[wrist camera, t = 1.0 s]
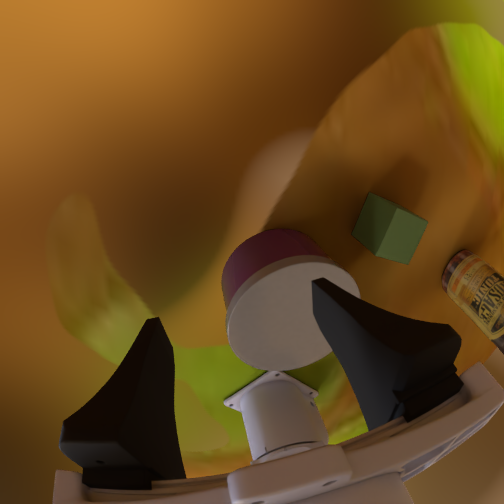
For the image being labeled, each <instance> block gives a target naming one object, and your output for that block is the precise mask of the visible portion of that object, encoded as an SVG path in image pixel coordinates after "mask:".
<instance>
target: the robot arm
mask: <svg viewBox="0 0 504 504" xmlns="http://www.w3.org/2000/svg"><path fill="white" fill-rule="evenodd" d="M311 283H312V304H313V315H314V317H315V320H316V322H317V324H318V327H319V329H320V331H321V332H322V334H323V336H324V337H325V339H326V341H327V342H328V344H329V346H330V347H331V349H332V350H333V352H334V354H335V355H336V357H337V358H338V360H339V362H340V363H341V365H342V367H343V369H344V370H345V373H346V375H347V377H348V379H349V381H350V383H351V386H352V388H353V390H354V393H355V395H356V397H357V400H358V402H359V405H360V408H361V410H362V413H363V415H364V418H365V421H366V424H367V427H368V430H369V432H366V433H364V434H361V435H359V436H357V437H354V438H352V439H349V440H347V441H344V442H341V443H339V444H336V445H328V440H329V438H328V432H327V429H326V427H325V425H324V422H323V420H322V418H321V416H320V413H319V411H318V409H317V406H316V404H315V402H314V398H315V397H317V396H318V394H319V393H318V391H316V390H314V389H312V388H310V387H309V386H307V385H305V384H303V383H302V382H300V381H298V380H296V379H295V378H293V377H291V376H289V375H288V374H286V373H284V372H283V371H268V372H267V373H265V374H264V375H262V376H261V377H259V378H258V379H256V380H255V381H253V382H252V383H250V384H249V385H247V386H246V387H244V388H243V389H241V390H240V391H238V392H237V393H235V394H234V395H232V396H231V397H229V398H228V399H226V400H225V401H224V405H226V406H228V407H230V408H233V409H235V410H238V411H240V412H242V415H243V420H244V424H245V428H246V433H247V437H248V441H249V445H250V449H251V454H252V458H253V461H251V462H250V463H251V465H250V466H246V467H243V468H239V469H237V470H235V471H233V472H231V473H227V474H220V475H214V476H206V477H198V478H189V479H187V478H186V474H185V470H184V466H183V462H182V457H181V452H180V447H179V442H178V436H177V429H176V422H175V414H174V382H175V364H174V354H173V347H172V345H171V343H170V341H169V338H168V336H167V334H166V332H165V330H164V327H163V325H162V323H161V321H160V318H159V317H156V318H151V319H147V320H146V322H145V323H144V325H143V327H142V328H141V330H140V332H139V334H138V336H137V337H136V339H135V341H134V343H133V345H132V346H131V348H130V350H129V351H128V353H127V355H126V356H125V358H124V359H123V361H122V362H121V364H120V366H119V367H118V369H117V370H116V371H115V372H114V374H113V375H112V376H111V378H110V379H109V380H108V382H107V383H106V384H105V385H104V386H103V387H102V388H101V389H100V390H99V392H97V393H96V395H95V396H94V397H93V398H91V399H90V400H89V401H88V402H87V403H86V404H85V405H84V406H83V407H81V408H80V409H79V410H78V411H77V412H75V413H74V414H72V415H71V416H70V417H68V418H67V419H66V420H64V421H63V426H62V430H61V436H60V441H59V448H60V450H61V451H62V452H63V453H64V454H65V455H66V456H67V457H68V458H70V459H71V460H72V461H74V462H75V463H77V464H78V465H79V466H81V467H82V468H83V474H81V473H78V472H74V471H66V470H56V476H55V484H54V495H53V496H54V497H53V504H414V502H413V500H412V498H411V496H410V494H409V493H408V491H407V489H406V487H405V485H404V483H403V482H405V481H407V480H408V479H410V478H412V477H413V476H415V475H417V474H418V473H420V472H421V471H423V470H425V469H426V468H428V467H429V466H431V465H432V464H434V463H435V462H437V461H438V460H440V459H441V458H442V457H444V456H445V455H447V454H448V453H449V452H451V451H452V450H454V449H455V448H456V447H458V446H459V445H460V444H461V443H463V442H464V441H466V440H467V439H468V438H469V437H471V436H472V435H473V434H474V433H476V432H477V431H478V430H479V429H481V428H482V427H483V426H484V425H485V424H486V423H487V422H488V421H489V420H490V419H491V418H492V416H493V415H494V414H495V413H496V412H497V410H498V409H499V408H500V407H501V405H502V404H503V403H504V390H503V388H502V387H501V386H500V385H499V384H498V382H497V381H496V380H495V379H494V378H493V376H492V375H491V374H490V373H489V372H488V370H487V369H486V368H485V367H484V366H483V365H482V364H481V362H477V363H476V364H474V365H473V366H471V367H470V368H469V369H467V370H466V371H464V372H463V373H462V374H461V375H460V376H459V377H458V376H457V374H456V373H455V372H456V371H457V368H456V367H455V365H454V364H453V363H454V361H455V359H456V356H457V354H458V352H459V350H460V347H461V340H462V339H461V337H460V336H459V335H458V334H457V332H456V331H455V330H454V329H453V328H452V327H451V326H450V325H449V324H440V323H431V322H425V321H420V320H415V319H411V318H407V317H404V316H400V315H397V314H394V313H391V312H388V311H386V310H383V309H381V308H378V307H376V306H374V305H371V304H369V303H367V302H365V301H363V300H361V299H360V298H358V297H356V296H354V295H352V294H351V293H349V292H347V291H345V290H344V289H342V288H340V287H339V286H337V285H336V284H334V283H332V282H331V281H329V280H327V279H326V278H324V277H322V278H319V279H315V280H311Z"/></svg>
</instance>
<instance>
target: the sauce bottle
mask: <svg viewBox="0 0 504 504" xmlns="http://www.w3.org/2000/svg"><path fill="white" fill-rule="evenodd" d="M442 287H443V289H444V291H445V292H446V293H447V294H448V296H449V297H450V298H451V299H452V300H453V301H454V302H455V303H456V304H457V305H458V306H459V307H460V308H461V309H462V310H463V311H464V312H465V313H466V314H467V315H468V316H469V317H470V318H471V319H472V321H473V322H474V323H475V324H476V325H477V326H478V327H479V328H480V329H481V330H482V331H483V332H484V334H485V335H486V336H487V337H488V338H489V339H490V340H491V341H492V342H493V343H494V344H495V345H496V346H497V347H498V348H499V350H500V351H501V352H502V353H503V354H504V277H503V276H502V275H501V274H500V273H499V272H497V271H496V270H495V269H494V268H493V267H491V266H490V265H489V264H488V263H486V262H485V261H484V260H483V259H481V258H480V257H479V256H477V255H475V254H473V253H472V252H470V251H468V250H463V251H461V252H459V253H457V254H456V255H455V256H454V257H453V258H452V259H451V260H450V262H449V264H448V265H447V267H446V269H445V271H444V273H443V275H442Z"/></svg>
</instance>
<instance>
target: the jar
mask: <svg viewBox="0 0 504 504" xmlns="http://www.w3.org/2000/svg"><path fill="white" fill-rule="evenodd" d="M322 277H324V278H326V279H327V280H329V281H331V282H332V283H334V284H336V285H337V286H339V287H340V288H342V289H344V290H345V291H347V292H349V293H351V294H352V295H354V296H356V297H358V298H360V292H359V288H358V286H357V283H356V282H355V280H354V279H353V277H352V276H351V275H350V274H349V273H348V272H347V271H346V270H345V269H344V268H343V267H342V266H341V265H340V264H338V263H337V262H335V261H333V260H331V259H330V258H329V257H328V256H327V255H326V253H325V252H324V251H323V250H322V249H321V248H320V247H319V246H318V244H317V243H316V242H315V241H314V240H313V239H311V238H310V237H309V236H307V235H305V234H303V233H301V232H298V231H295V230H290V229H273V230H268V231H264V232H261V233H258V234H256V235H254V236H252V237H251V238H249V239H247V240H246V241H245V242H243V243H242V244H241V245H239V246H238V248H236V250H235V251H234V252H233V253H232V255H231V256H230V257H229V259H228V261H227V262H226V265H225V267H224V270H223V274H222V291H223V296H224V301H225V305H226V310H227V314H226V332H227V337H228V341H229V344H230V346H231V348H232V350H233V352H234V353H235V354H236V356H238V357H239V358H240V359H241V360H242V361H243V362H245V363H246V364H248V365H250V366H252V367H255V368H258V369H262V370H268V371H286V370H292V369H297V368H300V367H304V366H307V365H309V364H312V363H314V362H316V361H318V360H320V359H321V358H323V357H325V356H326V355H328V354H329V353H331V352H332V351H333V350H332V349H331V347H330V346H329V344H328V342H327V341H326V339H325V337H324V336H323V334H322V332H321V331H320V329H319V327H318V324H317V322H316V320H315V317H314V315H313V304H312V283H311V280H315V279H319V278H322Z"/></svg>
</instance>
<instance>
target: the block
mask: <svg viewBox="0 0 504 504" xmlns="http://www.w3.org/2000/svg"><path fill="white" fill-rule="evenodd" d="M427 224H428V221H426V220H425V219H423V218H421V217H419V216H418V215H416V214H414V213H413V212H411V211H409V210H407V209H406V208H404V207H402V206H400V205H398V204H396V203H394V202H391V201H389V200H387V199H385V198H382V197H380V196H378V195H375V194H373V193H371V192H369V194H368V196H367V199H366V201H365V204H364V206H363V208H362V211H361V213H360V216H359V218H358V220H357V223H356V225H355V227H354V229H353V232H352V234H351V235H352V236H354V237H355V238H356V239H357V240H358V241H359V242H361V243H362V244H363V245H364V246H365V247H366V248H367V249H369V250H370V251H371V252H372V253H373V254H374V255H375V256H378V257H382V258H386V259H389V260H393V261H396V262H400V263H403V264H407V265H408V264H409V262H410V260H411V258H412V256H413V254H414V252H415V250H416V248H417V246H418V244H419V242H420V239H421V237H422V235H423V233H424V231H425V229H426V226H427Z"/></svg>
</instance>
